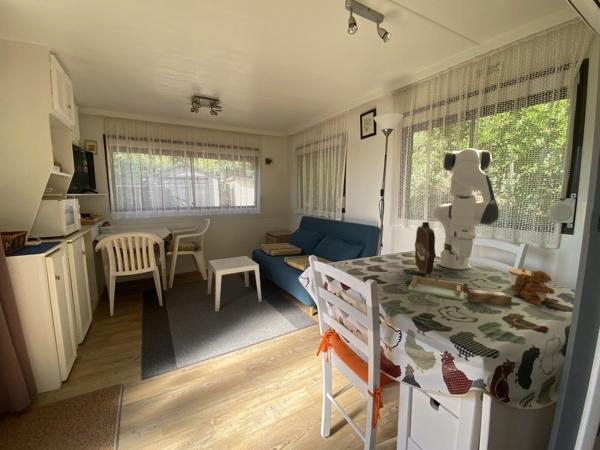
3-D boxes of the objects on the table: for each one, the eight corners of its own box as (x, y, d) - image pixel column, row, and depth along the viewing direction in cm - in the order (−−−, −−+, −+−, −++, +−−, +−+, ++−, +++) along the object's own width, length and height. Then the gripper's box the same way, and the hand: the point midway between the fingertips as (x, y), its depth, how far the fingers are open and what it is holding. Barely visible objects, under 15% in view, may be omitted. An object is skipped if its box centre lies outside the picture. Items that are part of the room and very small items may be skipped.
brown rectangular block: (471, 302, 105) (471, 292, 105) (466, 297, 110) (467, 288, 110) (510, 306, 101) (511, 296, 101) (504, 301, 106) (505, 292, 106)
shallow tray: (411, 282, 127) (412, 273, 127) (463, 291, 116) (464, 281, 115) (408, 289, 118) (408, 279, 118) (463, 300, 106) (464, 289, 106)
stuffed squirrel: (540, 307, 100) (544, 275, 99) (504, 293, 114) (507, 265, 112) (558, 304, 103) (562, 273, 101) (520, 291, 116) (523, 264, 115)
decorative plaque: (434, 285, 124) (438, 225, 120) (427, 285, 125) (431, 225, 121) (418, 268, 153) (421, 219, 149) (413, 267, 154) (415, 219, 150)
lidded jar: (528, 293, 115) (530, 273, 113) (502, 285, 124) (504, 266, 123) (541, 289, 118) (544, 270, 117) (515, 282, 128) (517, 264, 127)
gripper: (449, 228, 119) (447, 256, 120) (457, 234, 100) (455, 268, 102) (464, 229, 116) (462, 258, 118) (476, 235, 97) (473, 270, 99)
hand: (459, 262), depth 110 cm, fingers open, 5 cm apart
